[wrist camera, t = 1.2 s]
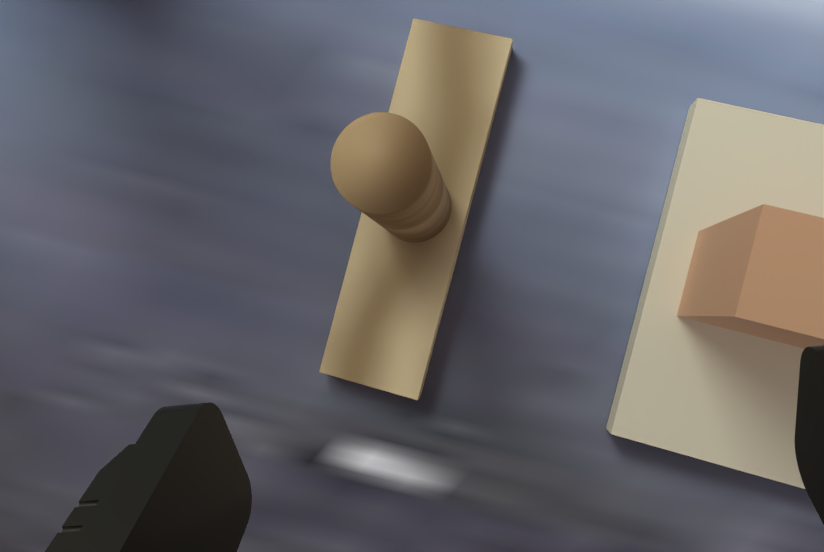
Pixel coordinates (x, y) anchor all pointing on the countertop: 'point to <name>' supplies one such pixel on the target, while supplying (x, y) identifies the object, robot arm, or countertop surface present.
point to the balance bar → (411, 203)
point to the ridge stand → (730, 294)
